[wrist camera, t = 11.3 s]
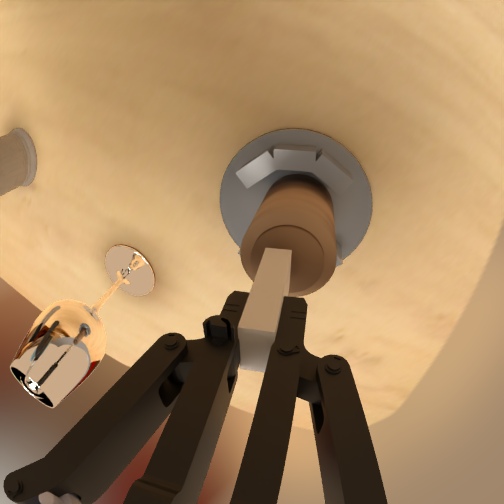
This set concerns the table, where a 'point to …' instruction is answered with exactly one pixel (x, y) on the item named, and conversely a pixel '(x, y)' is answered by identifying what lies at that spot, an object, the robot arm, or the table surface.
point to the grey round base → (297, 162)
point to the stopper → (295, 232)
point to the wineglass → (75, 333)
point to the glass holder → (16, 160)
